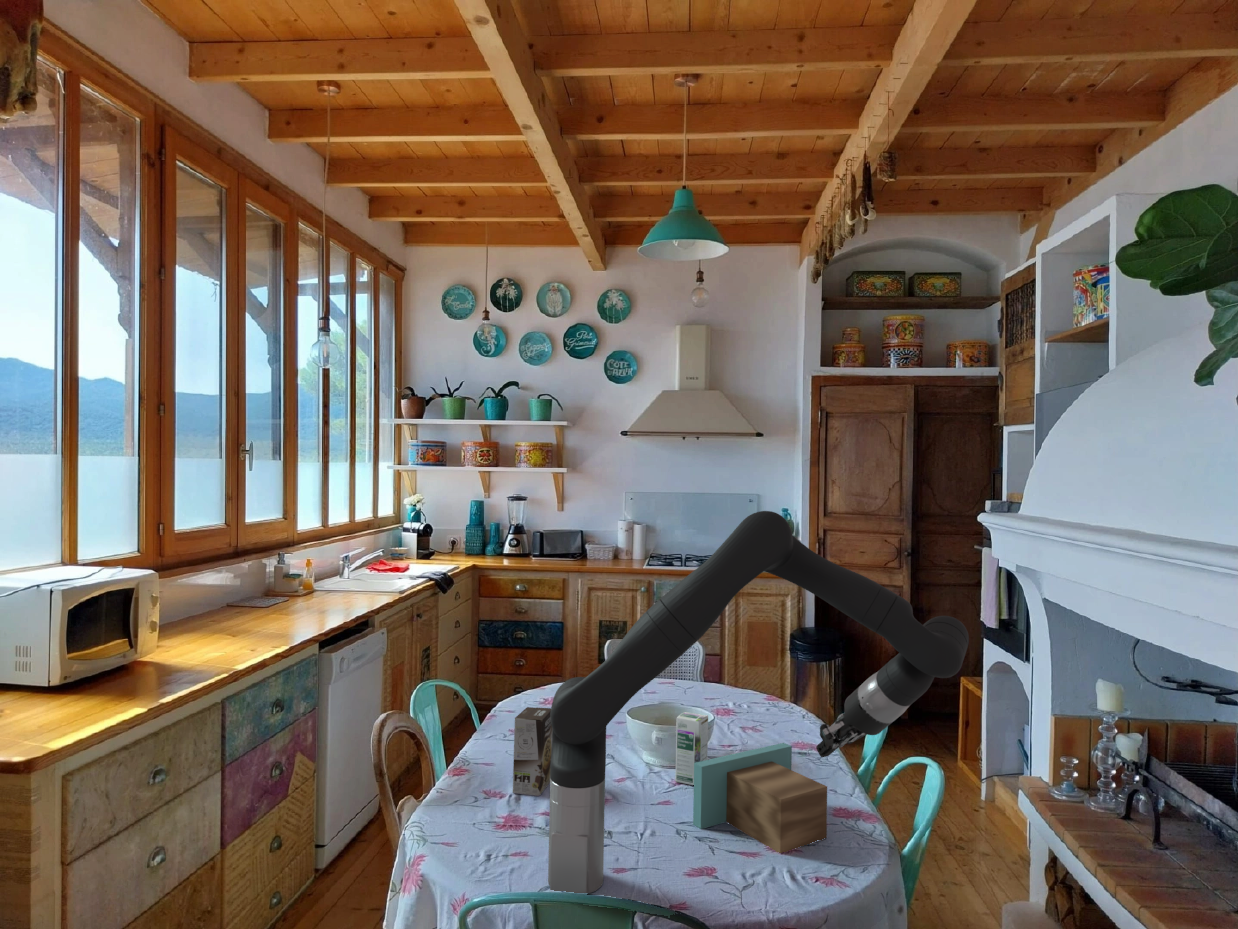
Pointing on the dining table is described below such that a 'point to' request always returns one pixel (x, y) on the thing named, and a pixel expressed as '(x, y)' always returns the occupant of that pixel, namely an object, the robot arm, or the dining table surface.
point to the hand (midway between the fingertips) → (821, 752)
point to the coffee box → (532, 751)
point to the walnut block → (776, 806)
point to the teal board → (714, 780)
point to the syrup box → (690, 745)
